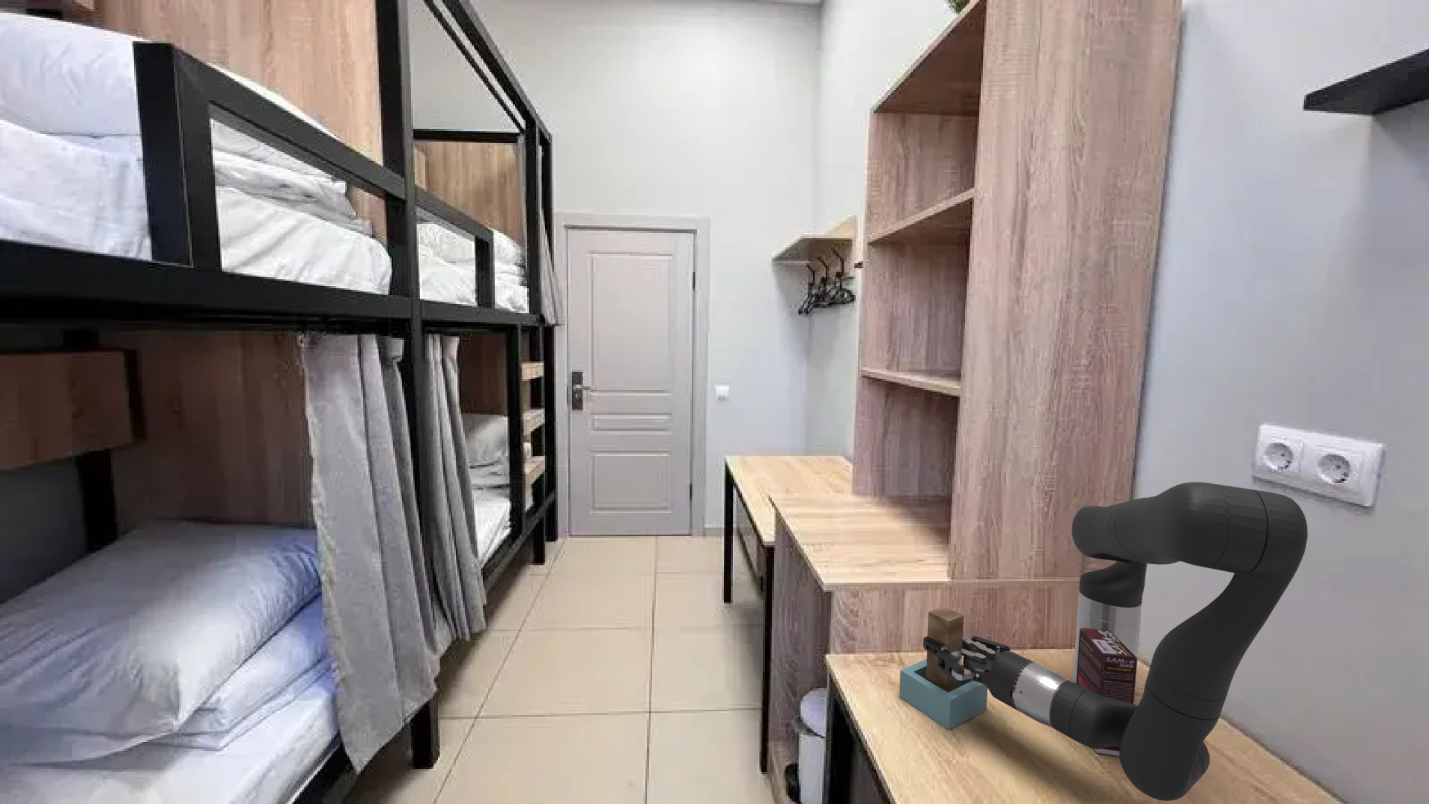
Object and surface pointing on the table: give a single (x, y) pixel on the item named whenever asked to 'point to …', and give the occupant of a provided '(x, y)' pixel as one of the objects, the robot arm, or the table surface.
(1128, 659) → the supplement box
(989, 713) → the table surface
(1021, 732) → the table surface
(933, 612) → the walnut post
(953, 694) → the well
